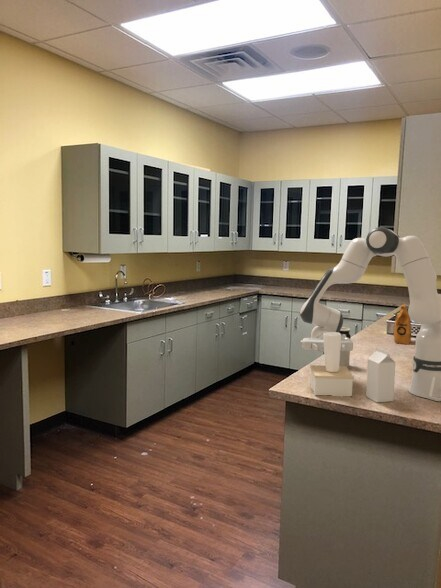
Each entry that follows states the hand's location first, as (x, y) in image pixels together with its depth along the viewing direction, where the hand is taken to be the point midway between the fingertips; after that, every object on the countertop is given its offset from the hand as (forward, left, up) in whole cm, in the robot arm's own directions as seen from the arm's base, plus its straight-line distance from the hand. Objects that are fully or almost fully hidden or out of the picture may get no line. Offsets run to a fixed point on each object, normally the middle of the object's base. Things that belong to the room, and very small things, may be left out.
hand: (330, 349), depth 182 cm
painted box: (-1, -1, -17) cm, 17 cm away
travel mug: (-12, -39, -17) cm, 44 cm away
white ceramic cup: (-1, -1, -9) cm, 9 cm away
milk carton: (-18, +7, -17) cm, 26 cm away
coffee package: (-58, -95, -17) cm, 113 cm away
